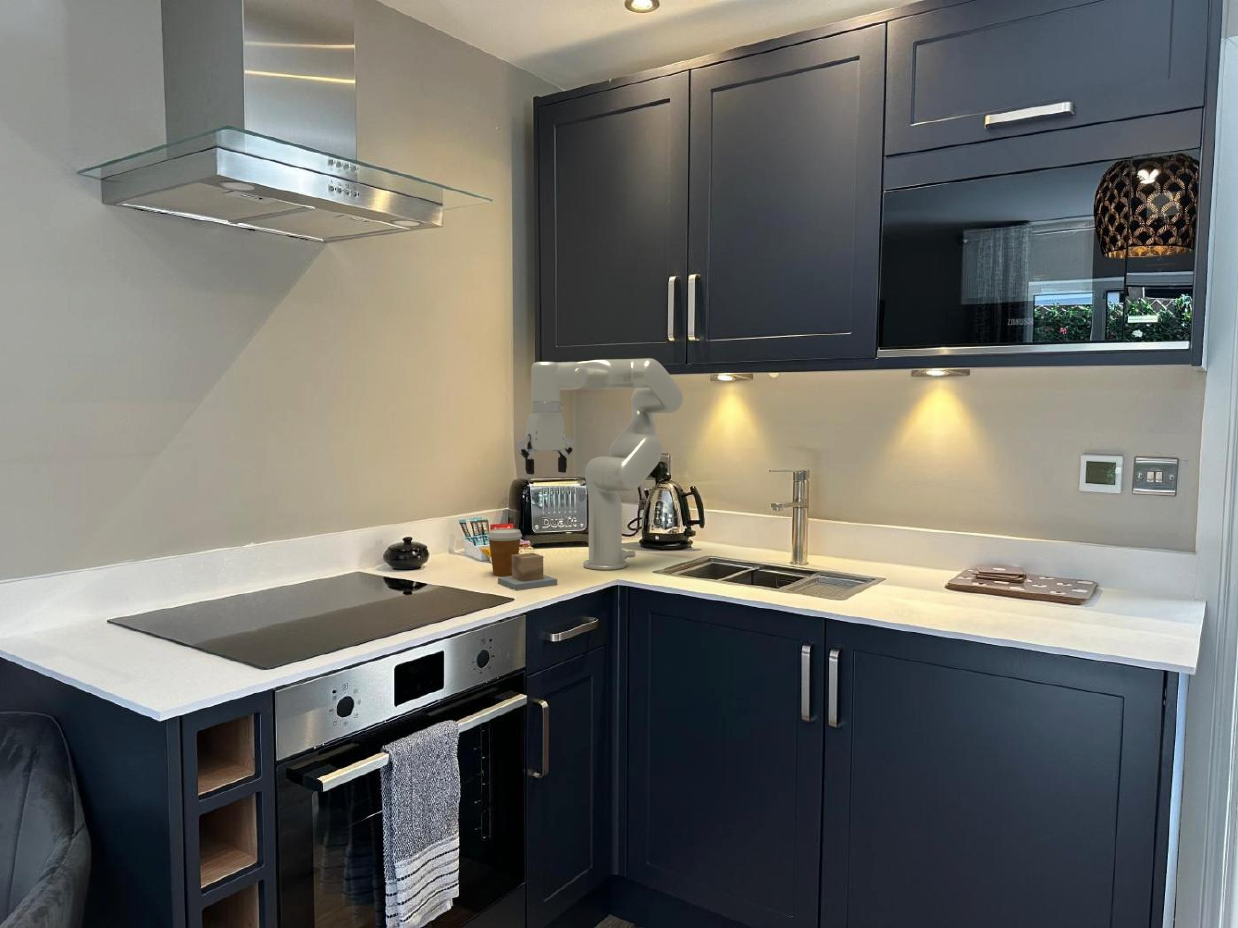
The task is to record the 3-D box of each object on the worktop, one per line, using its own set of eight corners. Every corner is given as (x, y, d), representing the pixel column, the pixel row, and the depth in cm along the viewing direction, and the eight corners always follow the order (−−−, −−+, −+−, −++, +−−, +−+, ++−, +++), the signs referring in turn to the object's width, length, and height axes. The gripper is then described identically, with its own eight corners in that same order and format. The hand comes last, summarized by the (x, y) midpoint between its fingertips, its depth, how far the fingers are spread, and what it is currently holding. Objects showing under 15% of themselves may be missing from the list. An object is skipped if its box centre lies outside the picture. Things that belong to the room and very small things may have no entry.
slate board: (538, 578, 224) (538, 572, 224) (557, 584, 216) (557, 579, 216) (497, 583, 217) (497, 577, 217) (515, 590, 209) (515, 584, 209)
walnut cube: (543, 578, 216) (543, 556, 215) (522, 581, 212) (522, 558, 212) (532, 575, 221) (532, 552, 220) (511, 577, 217) (511, 554, 217)
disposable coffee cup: (480, 573, 230) (480, 530, 229) (509, 569, 236) (509, 527, 235) (499, 579, 223) (499, 534, 222) (529, 574, 229) (528, 531, 228)
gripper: (566, 408, 229) (567, 470, 230) (510, 408, 219) (510, 473, 221) (581, 408, 223) (581, 472, 224) (523, 409, 213) (524, 475, 214)
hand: (546, 473), depth 222 cm, fingers open, 9 cm apart
